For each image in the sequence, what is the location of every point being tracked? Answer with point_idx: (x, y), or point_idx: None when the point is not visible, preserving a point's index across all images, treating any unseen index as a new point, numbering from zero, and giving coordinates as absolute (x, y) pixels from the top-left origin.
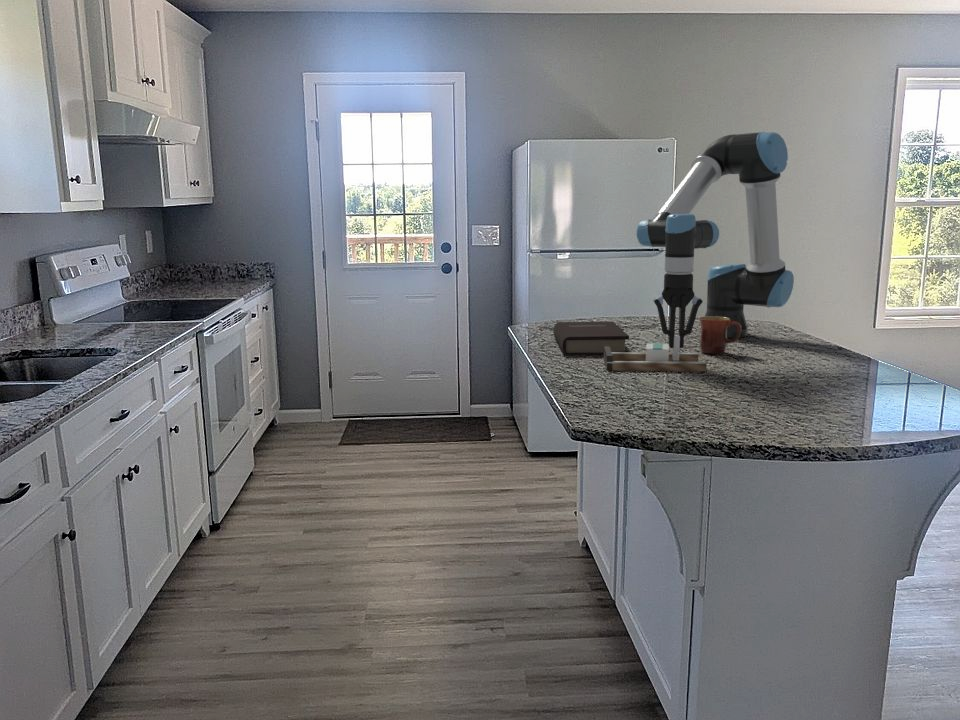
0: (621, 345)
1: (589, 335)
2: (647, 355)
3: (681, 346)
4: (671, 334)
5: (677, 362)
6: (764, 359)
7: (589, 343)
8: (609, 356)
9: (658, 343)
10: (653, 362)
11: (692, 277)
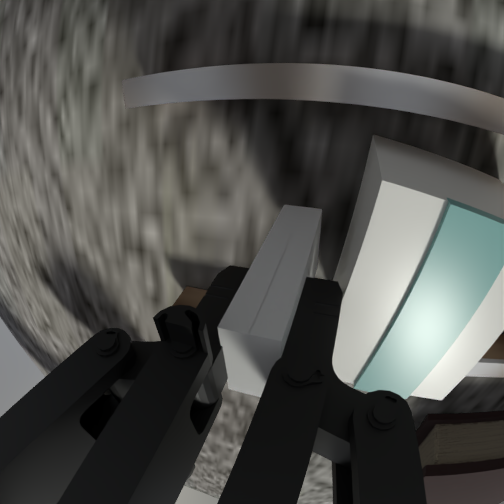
0: (446, 445)
1: None
2: None
3: (236, 273)
4: (311, 373)
5: (317, 64)
6: (37, 277)
7: None
8: None
9: (384, 383)
10: (501, 98)
11: None
